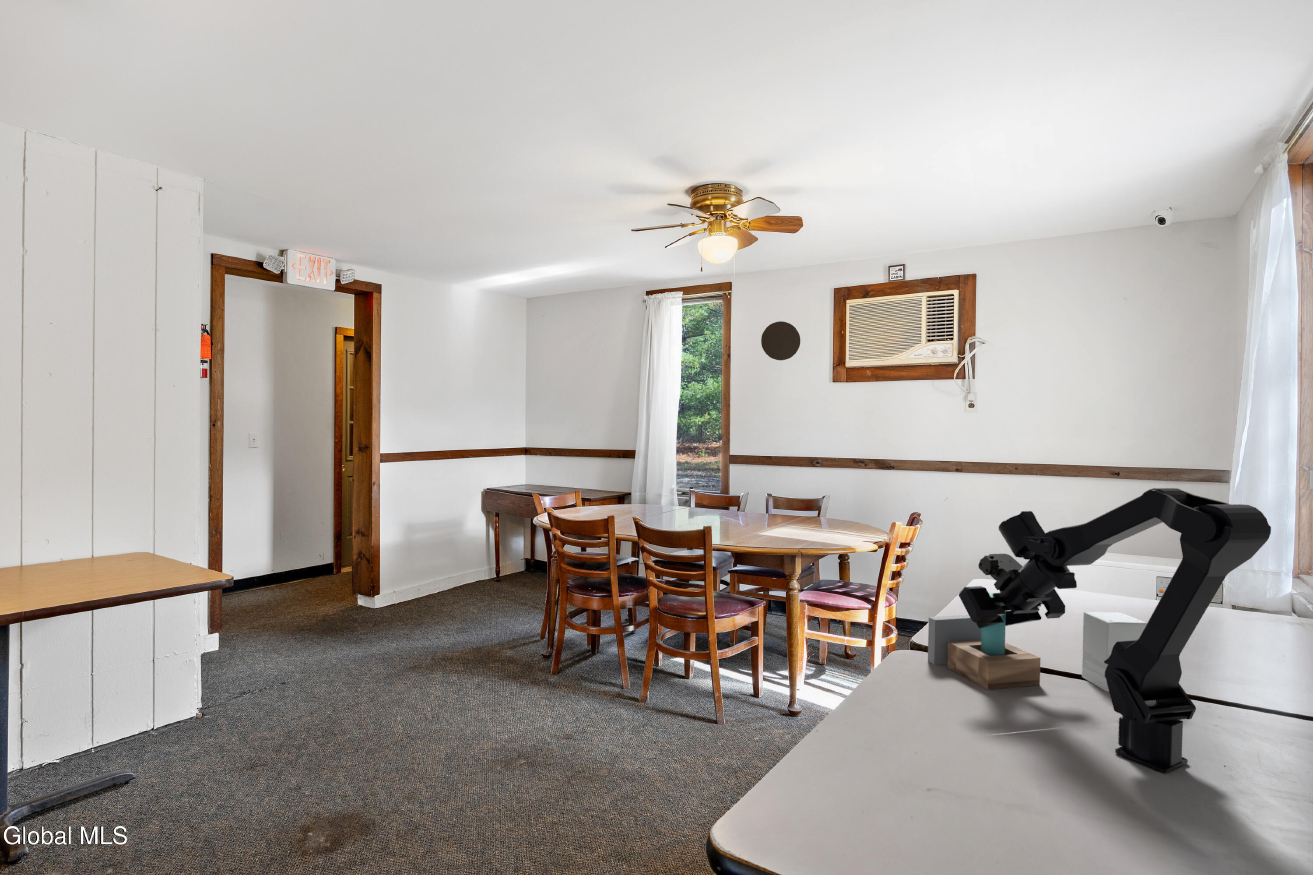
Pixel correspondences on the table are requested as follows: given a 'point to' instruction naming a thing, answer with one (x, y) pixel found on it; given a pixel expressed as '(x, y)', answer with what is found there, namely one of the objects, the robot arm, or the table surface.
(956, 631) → the backstop wall
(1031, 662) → the hole block
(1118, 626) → the supplement box
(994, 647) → the dowel
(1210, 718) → the table surface
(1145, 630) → the robot arm
